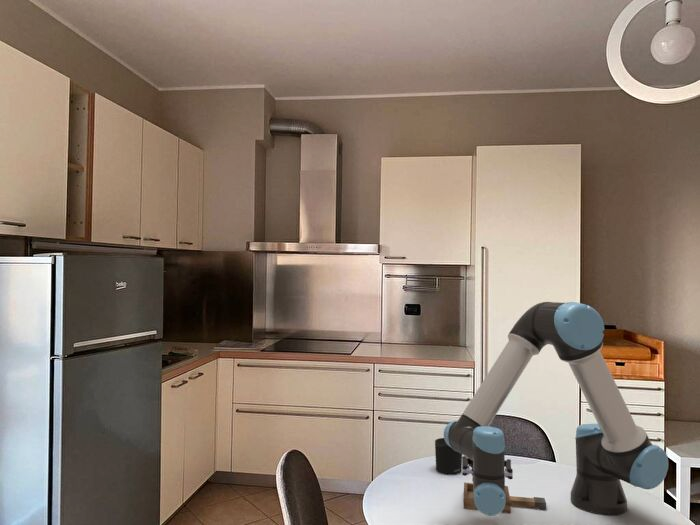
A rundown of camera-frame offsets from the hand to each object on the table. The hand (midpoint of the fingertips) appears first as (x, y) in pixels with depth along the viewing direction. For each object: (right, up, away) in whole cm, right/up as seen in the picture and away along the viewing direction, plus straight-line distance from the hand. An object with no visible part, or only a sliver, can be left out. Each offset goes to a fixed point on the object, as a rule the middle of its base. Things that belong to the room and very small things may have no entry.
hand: (485, 454), depth 165 cm
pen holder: (-7, -14, +22) cm, 27 cm away
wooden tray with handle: (+4, -12, -7) cm, 14 cm away
